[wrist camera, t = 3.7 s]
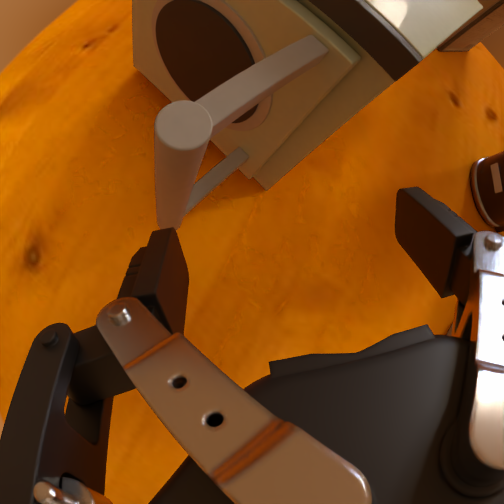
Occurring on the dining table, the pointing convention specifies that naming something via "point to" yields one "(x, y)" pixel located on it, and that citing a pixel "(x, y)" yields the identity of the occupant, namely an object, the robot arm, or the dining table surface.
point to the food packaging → (476, 27)
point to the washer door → (229, 86)
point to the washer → (368, 62)
